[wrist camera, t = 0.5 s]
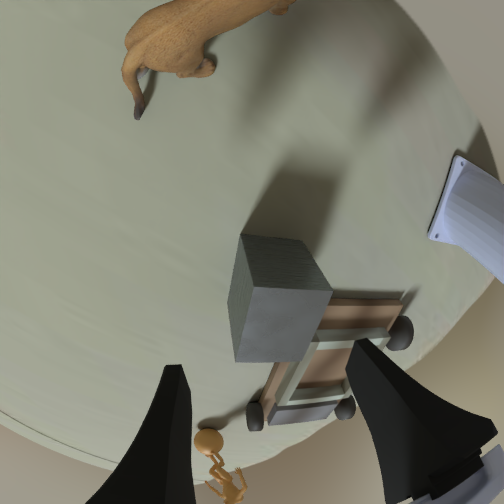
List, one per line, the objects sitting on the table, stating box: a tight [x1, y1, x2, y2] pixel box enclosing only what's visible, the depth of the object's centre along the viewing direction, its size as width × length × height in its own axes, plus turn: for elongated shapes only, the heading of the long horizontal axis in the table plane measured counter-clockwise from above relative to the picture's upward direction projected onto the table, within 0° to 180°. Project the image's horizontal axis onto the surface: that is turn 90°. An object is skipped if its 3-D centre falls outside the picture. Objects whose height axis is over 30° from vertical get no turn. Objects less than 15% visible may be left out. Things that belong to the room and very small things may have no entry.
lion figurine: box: [121, 0, 296, 120], centre depth 8 cm, size 15×5×9 cm, turn 141°
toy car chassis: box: [246, 298, 414, 431], centre depth 27 cm, size 13×20×4 cm
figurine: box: [194, 428, 247, 504], centre depth 28 cm, size 8×6×12 cm
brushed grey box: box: [227, 234, 333, 363], centre depth 19 cm, size 4×6×6 cm
